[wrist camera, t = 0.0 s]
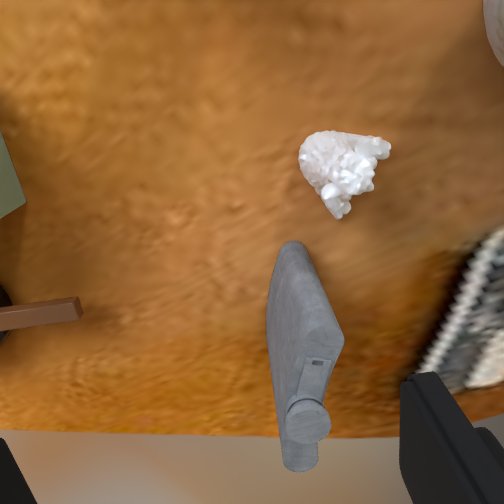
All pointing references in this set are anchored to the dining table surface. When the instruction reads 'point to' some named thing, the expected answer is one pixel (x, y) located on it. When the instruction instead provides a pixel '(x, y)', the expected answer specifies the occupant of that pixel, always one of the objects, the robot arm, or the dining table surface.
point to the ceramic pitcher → (495, 26)
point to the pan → (36, 313)
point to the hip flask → (300, 354)
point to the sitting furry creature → (341, 166)
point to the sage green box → (8, 183)
